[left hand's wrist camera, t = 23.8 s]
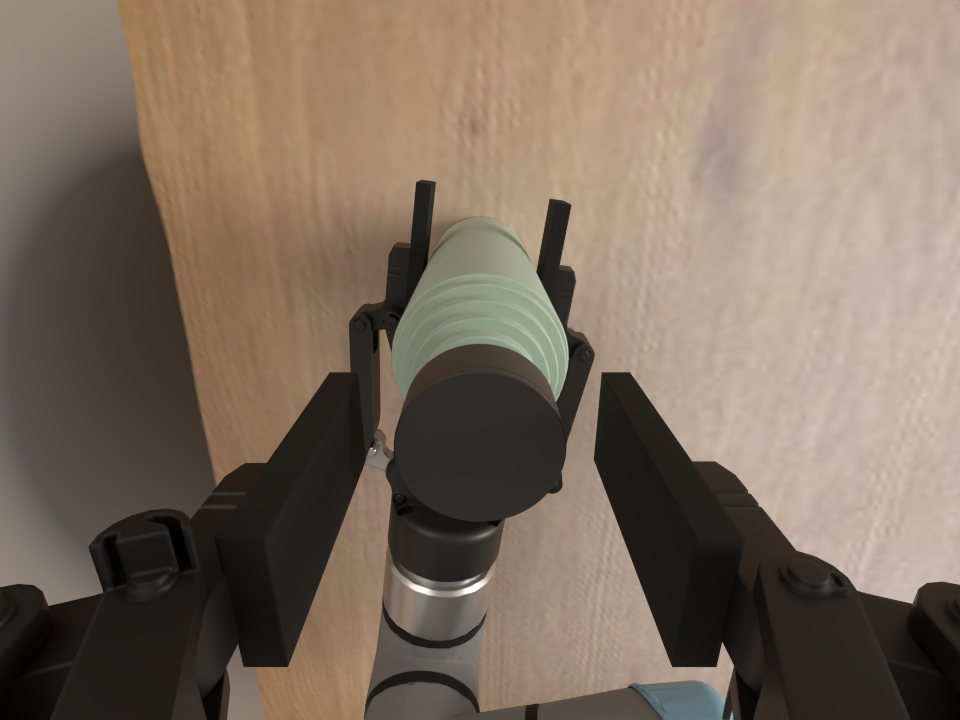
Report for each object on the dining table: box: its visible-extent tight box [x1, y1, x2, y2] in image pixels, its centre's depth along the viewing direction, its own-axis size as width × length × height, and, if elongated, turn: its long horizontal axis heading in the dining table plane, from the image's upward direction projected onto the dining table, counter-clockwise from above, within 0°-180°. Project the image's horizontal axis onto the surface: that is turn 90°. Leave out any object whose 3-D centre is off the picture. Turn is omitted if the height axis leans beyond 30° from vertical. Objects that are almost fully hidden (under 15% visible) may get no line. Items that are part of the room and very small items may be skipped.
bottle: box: [392, 217, 569, 402], centre depth 24 cm, size 6×6×23 cm
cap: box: [394, 344, 566, 522], centre depth 14 cm, size 4×4×2 cm
